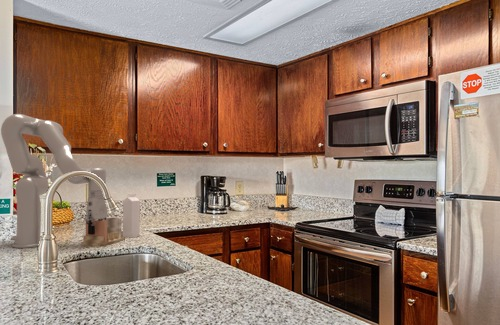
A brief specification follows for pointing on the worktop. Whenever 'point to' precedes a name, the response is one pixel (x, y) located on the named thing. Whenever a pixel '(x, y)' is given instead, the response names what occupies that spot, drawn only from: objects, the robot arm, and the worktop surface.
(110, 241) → the rack
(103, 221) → the pink square slab
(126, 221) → the milk
